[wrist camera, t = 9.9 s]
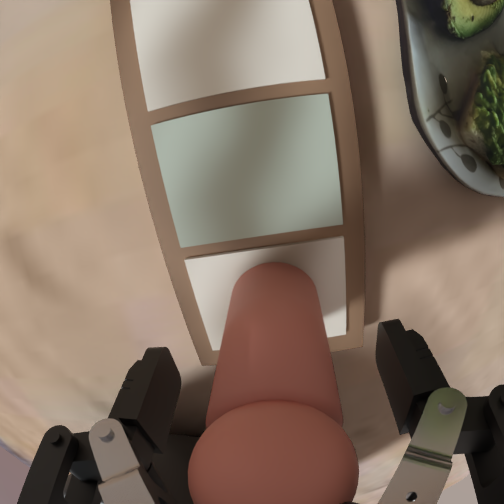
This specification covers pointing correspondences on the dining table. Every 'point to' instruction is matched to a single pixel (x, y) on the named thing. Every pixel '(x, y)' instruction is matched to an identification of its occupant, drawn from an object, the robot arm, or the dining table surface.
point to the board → (246, 151)
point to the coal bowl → (172, 466)
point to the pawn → (274, 401)
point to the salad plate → (457, 85)
